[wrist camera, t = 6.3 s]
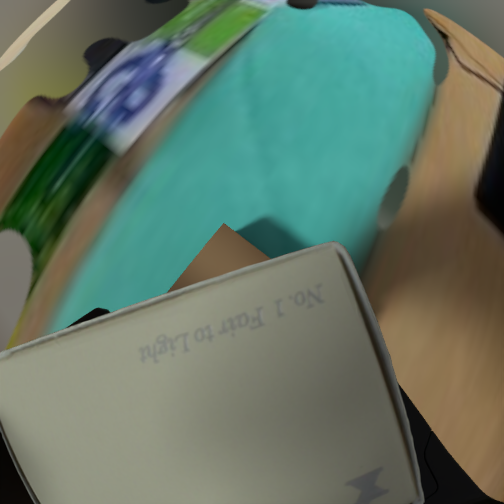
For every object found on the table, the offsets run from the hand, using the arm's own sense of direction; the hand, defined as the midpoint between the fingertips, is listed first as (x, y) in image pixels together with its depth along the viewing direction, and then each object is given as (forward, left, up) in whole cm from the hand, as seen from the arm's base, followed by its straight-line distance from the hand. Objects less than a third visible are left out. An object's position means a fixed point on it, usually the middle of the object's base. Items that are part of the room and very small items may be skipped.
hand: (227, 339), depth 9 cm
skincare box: (-1, -1, -7) cm, 7 cm away
